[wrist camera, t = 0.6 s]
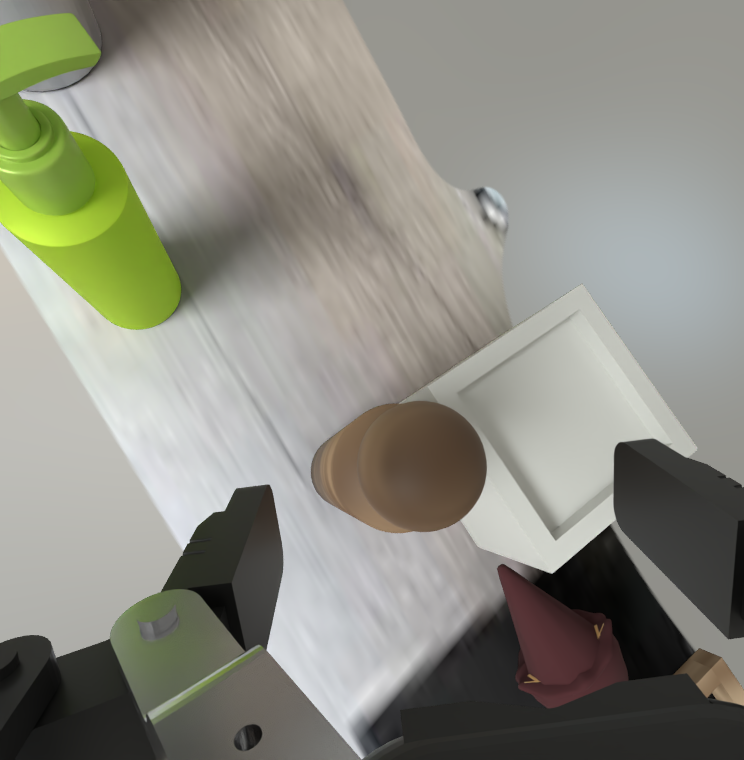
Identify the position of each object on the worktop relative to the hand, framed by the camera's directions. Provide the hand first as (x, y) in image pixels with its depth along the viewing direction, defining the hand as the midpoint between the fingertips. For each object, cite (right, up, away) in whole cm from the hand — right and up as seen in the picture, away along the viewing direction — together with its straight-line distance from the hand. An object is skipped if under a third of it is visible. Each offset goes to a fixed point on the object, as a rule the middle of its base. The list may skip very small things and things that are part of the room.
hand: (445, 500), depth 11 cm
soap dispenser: (-18, +9, +24) cm, 32 cm away
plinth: (+8, -1, +27) cm, 28 cm away
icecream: (+11, -16, +25) cm, 31 cm away
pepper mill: (-4, -4, +24) cm, 25 cm away
